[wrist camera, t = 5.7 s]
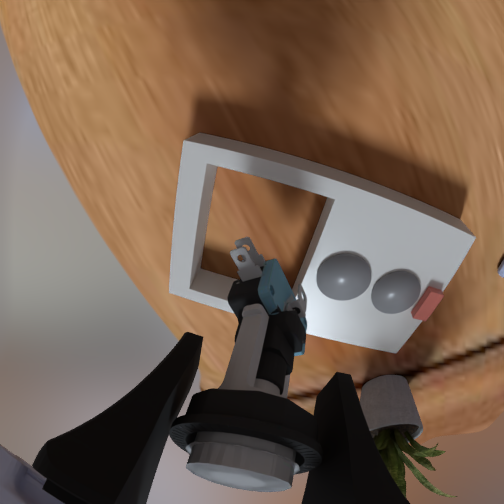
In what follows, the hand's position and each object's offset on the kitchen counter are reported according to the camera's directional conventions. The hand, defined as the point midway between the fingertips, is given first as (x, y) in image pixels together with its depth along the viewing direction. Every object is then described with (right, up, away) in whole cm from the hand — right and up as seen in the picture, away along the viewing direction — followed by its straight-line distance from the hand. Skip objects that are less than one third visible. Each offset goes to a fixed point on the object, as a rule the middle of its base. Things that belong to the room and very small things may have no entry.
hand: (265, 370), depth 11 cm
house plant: (+12, -10, +16) cm, 22 cm away
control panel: (+4, +5, +9) cm, 11 cm away
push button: (+1, +3, +5) cm, 6 cm away
